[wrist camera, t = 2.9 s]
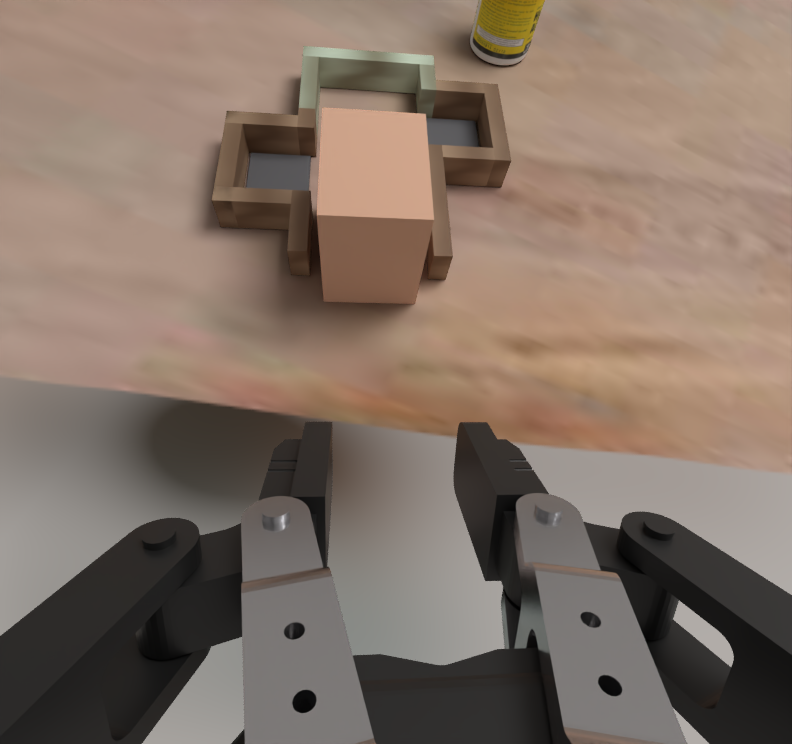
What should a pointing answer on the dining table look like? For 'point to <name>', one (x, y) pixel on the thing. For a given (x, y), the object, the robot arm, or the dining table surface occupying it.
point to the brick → (373, 205)
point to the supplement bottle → (504, 29)
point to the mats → (296, 168)
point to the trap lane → (301, 139)
